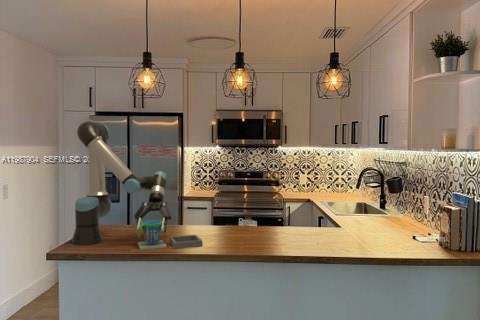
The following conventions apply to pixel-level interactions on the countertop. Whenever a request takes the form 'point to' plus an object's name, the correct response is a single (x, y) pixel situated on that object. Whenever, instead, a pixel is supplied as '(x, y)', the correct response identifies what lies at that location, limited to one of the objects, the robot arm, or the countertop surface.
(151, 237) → the snack cup
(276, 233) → the countertop surface
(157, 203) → the robot arm
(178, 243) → the square frame
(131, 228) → the countertop surface
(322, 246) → the countertop surface
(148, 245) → the mat
